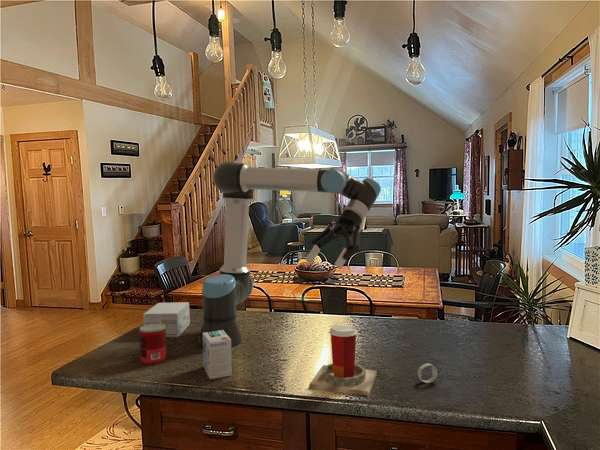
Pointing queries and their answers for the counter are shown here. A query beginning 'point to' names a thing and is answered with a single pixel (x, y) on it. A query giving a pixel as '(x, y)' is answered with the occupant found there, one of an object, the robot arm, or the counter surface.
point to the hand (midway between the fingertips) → (322, 264)
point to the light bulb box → (217, 354)
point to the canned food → (152, 343)
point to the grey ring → (432, 372)
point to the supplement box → (169, 317)
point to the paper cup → (343, 350)
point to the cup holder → (344, 381)
